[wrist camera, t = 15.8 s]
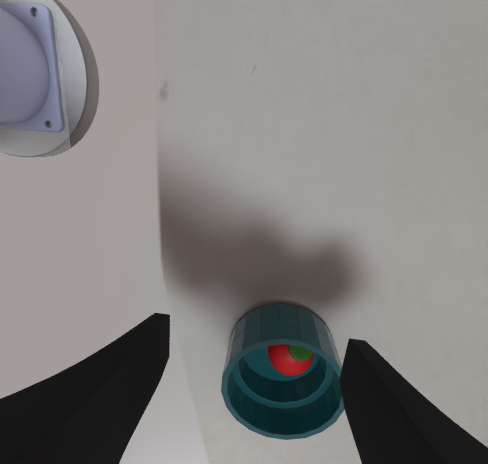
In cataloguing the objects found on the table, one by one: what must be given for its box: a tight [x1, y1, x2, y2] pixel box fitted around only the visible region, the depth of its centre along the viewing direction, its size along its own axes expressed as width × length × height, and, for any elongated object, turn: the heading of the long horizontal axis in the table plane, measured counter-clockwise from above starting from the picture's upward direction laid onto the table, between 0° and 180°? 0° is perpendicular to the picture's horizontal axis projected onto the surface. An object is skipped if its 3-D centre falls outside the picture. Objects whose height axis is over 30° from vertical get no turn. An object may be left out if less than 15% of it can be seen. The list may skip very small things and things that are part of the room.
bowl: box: [221, 304, 345, 440], centre depth 19 cm, size 8×8×4 cm
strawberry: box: [267, 344, 313, 376], centre depth 19 cm, size 3×3×4 cm
